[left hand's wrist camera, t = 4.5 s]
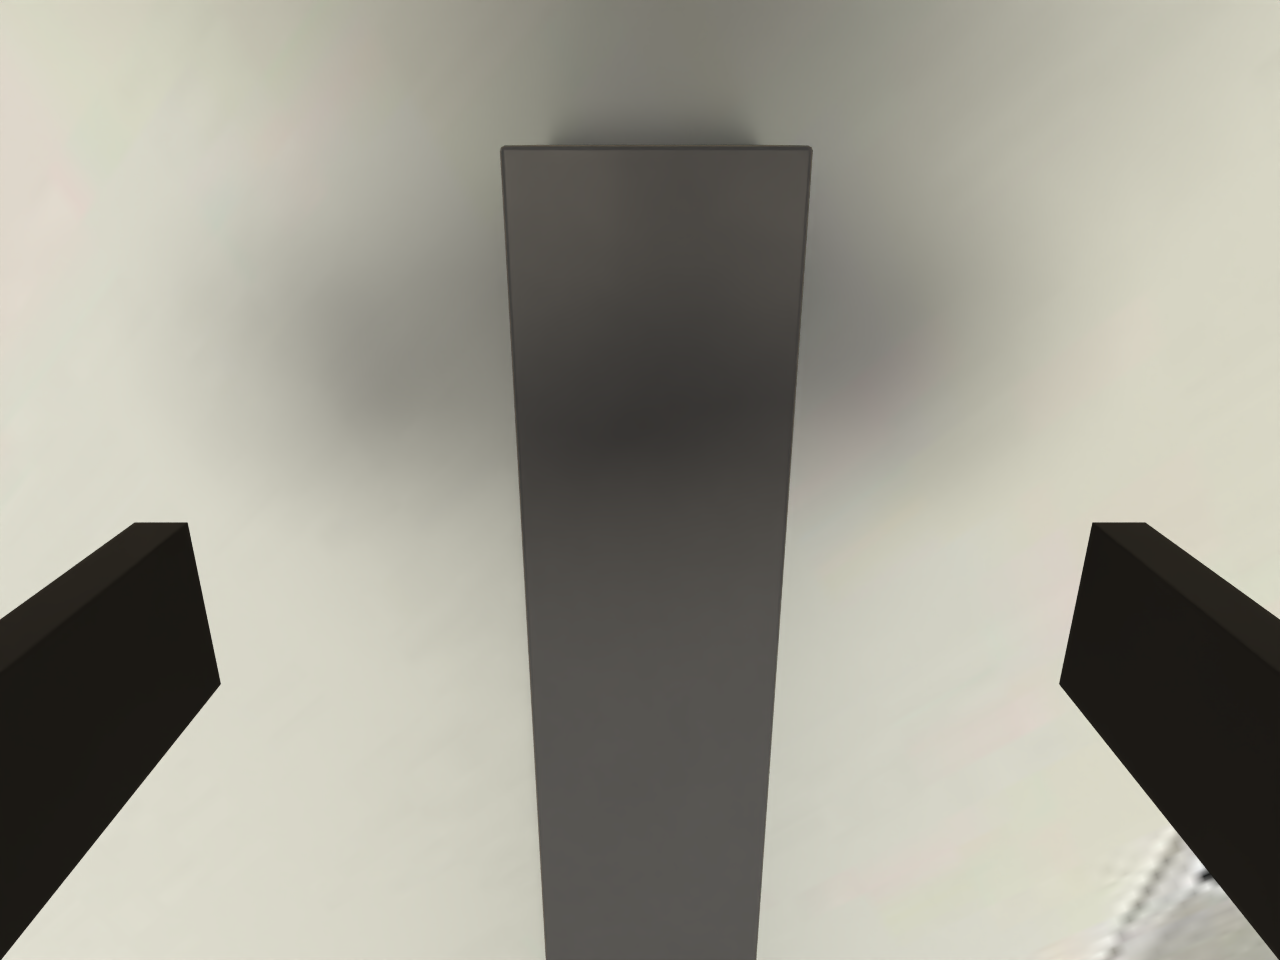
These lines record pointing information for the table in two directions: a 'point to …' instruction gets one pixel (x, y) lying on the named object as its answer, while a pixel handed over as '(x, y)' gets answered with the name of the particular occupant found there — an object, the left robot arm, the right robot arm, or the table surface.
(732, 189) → the bar
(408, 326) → the table surface
